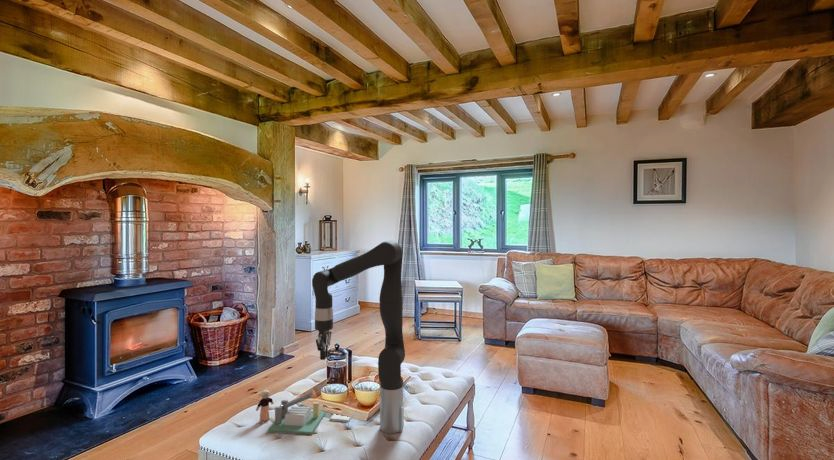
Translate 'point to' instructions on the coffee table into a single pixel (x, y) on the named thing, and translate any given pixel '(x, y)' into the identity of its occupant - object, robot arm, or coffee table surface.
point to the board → (298, 428)
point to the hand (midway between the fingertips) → (324, 358)
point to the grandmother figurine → (264, 406)
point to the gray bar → (297, 400)
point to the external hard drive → (340, 418)
